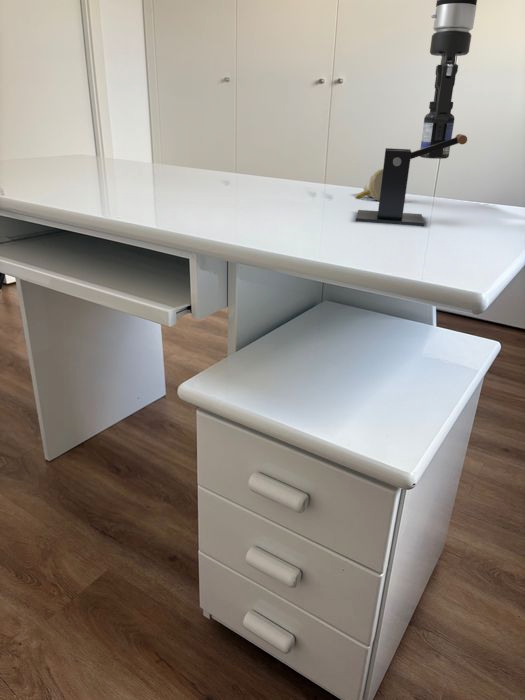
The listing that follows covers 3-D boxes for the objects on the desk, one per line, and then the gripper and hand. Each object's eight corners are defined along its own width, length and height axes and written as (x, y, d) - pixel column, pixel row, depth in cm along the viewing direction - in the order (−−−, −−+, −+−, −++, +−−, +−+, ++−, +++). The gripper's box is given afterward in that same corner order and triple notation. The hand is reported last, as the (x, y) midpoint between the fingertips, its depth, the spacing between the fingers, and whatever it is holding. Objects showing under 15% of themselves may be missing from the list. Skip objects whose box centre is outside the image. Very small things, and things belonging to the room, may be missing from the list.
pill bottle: (440, 156, 119) (449, 102, 114) (453, 159, 113) (462, 101, 109) (414, 156, 118) (421, 101, 113) (426, 158, 112) (434, 100, 108)
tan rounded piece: (378, 196, 131) (400, 161, 123) (386, 221, 125) (409, 185, 117) (351, 188, 129) (371, 151, 121) (357, 213, 122) (379, 176, 115)
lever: (464, 143, 94) (462, 129, 93) (468, 145, 90) (465, 131, 89) (390, 168, 98) (387, 155, 98) (390, 171, 94) (387, 157, 93)
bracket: (420, 220, 103) (431, 149, 98) (423, 229, 95) (435, 153, 90) (357, 215, 105) (365, 146, 100) (355, 224, 97) (362, 149, 92)
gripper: (429, 38, 115) (414, 152, 125) (436, 24, 98) (418, 158, 107) (465, 38, 114) (447, 153, 123) (479, 24, 97) (457, 160, 106)
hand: (434, 155), depth 115 cm, fingers closed on pill bottle, 6 cm apart
